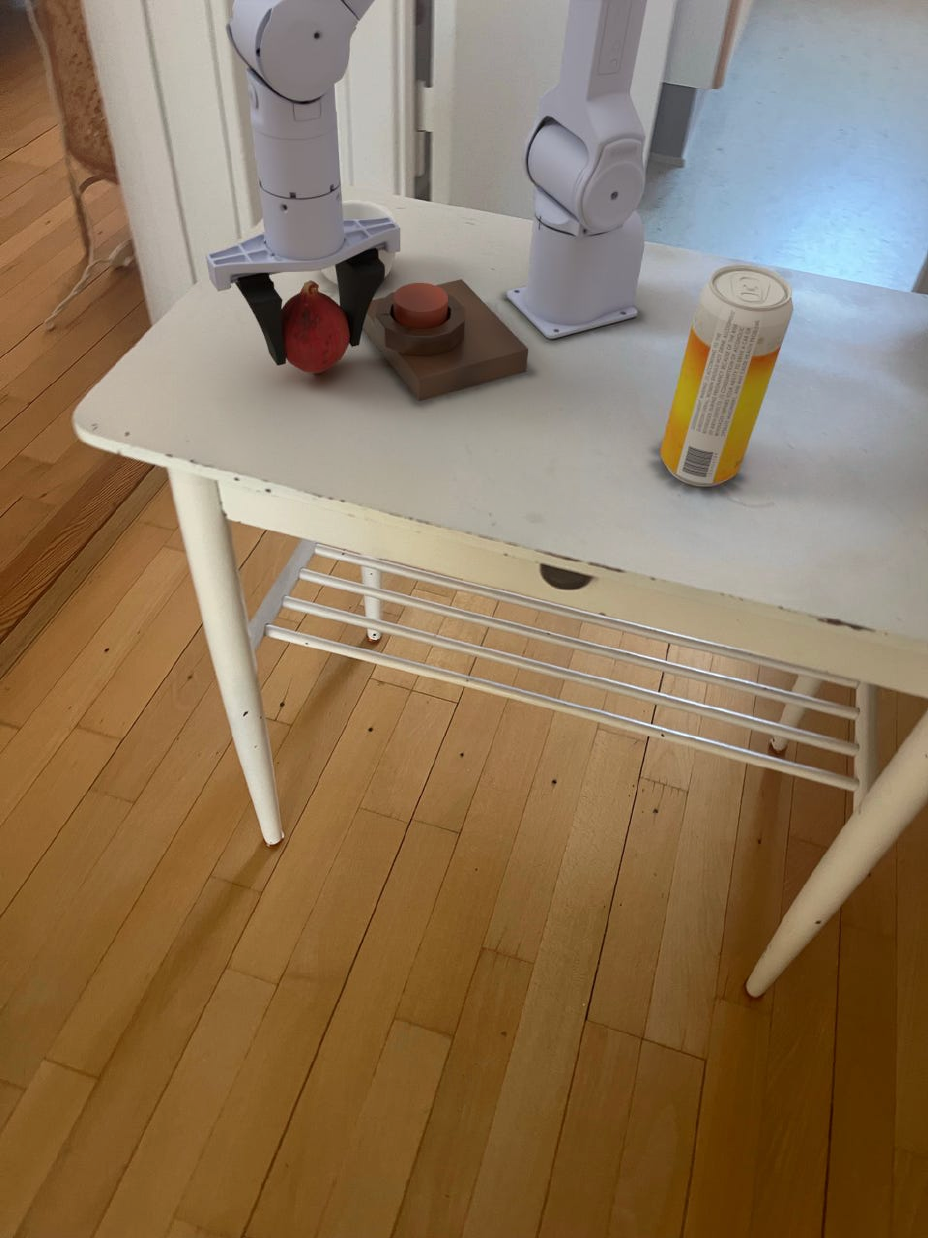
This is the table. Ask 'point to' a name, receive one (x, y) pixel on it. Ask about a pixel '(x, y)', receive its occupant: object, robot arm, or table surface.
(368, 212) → the teacup
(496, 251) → the table surface
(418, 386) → the button box
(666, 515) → the table surface
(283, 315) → the red fruit
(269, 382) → the table surface
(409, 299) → the button
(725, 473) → the beer can
